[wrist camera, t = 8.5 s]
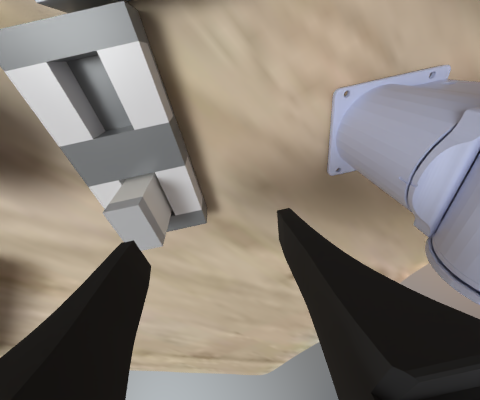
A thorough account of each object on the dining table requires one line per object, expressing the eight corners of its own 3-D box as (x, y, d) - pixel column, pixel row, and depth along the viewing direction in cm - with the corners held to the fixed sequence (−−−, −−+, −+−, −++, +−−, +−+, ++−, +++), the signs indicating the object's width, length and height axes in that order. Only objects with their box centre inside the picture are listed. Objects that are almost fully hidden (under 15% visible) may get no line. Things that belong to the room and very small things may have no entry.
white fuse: (131, 171, 18) (102, 212, 13) (158, 165, 18) (138, 205, 13) (151, 206, 20) (132, 252, 16) (174, 201, 20) (162, 246, 16)
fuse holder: (14, 38, 13) (-23, 34, 11) (137, 10, 13) (123, 0, 11) (135, 223, 22) (127, 240, 20) (207, 207, 22) (206, 223, 20)
